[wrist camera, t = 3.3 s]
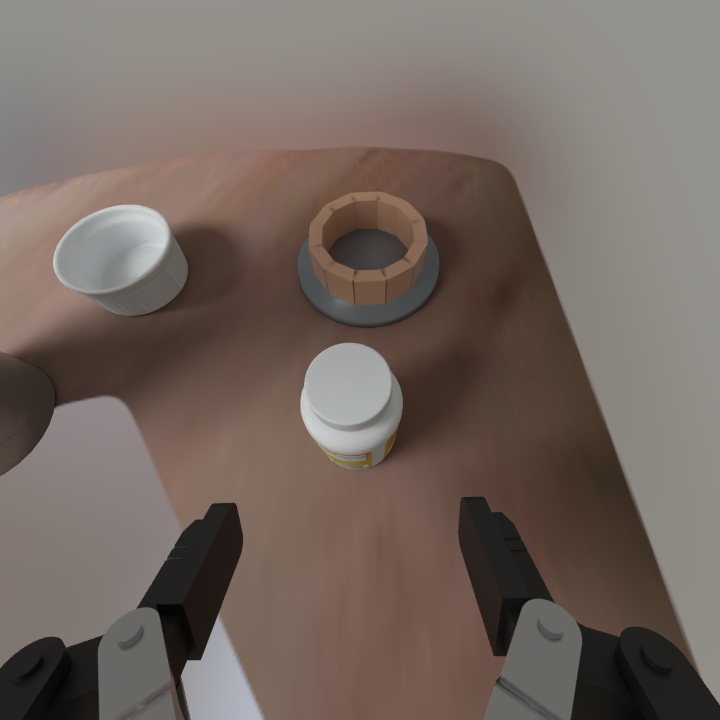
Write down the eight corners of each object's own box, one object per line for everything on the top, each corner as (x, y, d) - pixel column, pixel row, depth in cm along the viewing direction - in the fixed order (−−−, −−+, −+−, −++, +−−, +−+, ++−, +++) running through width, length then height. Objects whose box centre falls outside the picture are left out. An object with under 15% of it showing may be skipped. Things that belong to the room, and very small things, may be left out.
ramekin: (202, 239, 32) (179, 200, 28) (186, 320, 29) (157, 289, 25) (109, 244, 32) (72, 206, 28) (81, 326, 29) (34, 295, 25)
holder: (272, 292, 29) (258, 260, 26) (342, 201, 34) (338, 163, 30) (400, 351, 27) (404, 324, 23) (458, 244, 31) (470, 207, 27)
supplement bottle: (370, 381, 26) (368, 309, 17) (410, 444, 24) (433, 400, 15) (305, 418, 25) (268, 362, 16) (342, 486, 23) (323, 466, 14)
